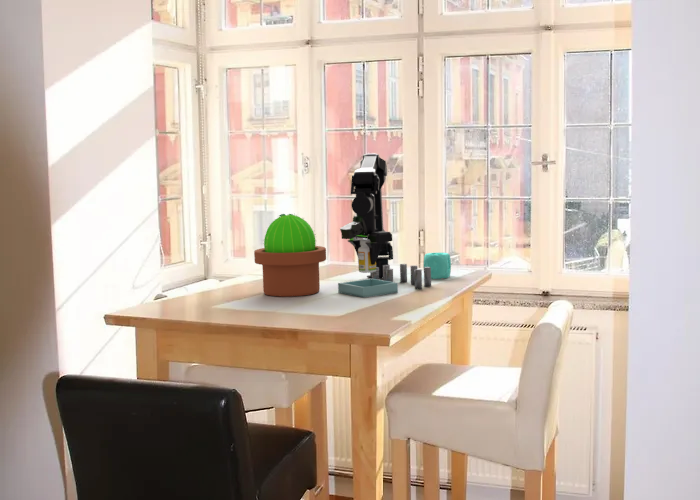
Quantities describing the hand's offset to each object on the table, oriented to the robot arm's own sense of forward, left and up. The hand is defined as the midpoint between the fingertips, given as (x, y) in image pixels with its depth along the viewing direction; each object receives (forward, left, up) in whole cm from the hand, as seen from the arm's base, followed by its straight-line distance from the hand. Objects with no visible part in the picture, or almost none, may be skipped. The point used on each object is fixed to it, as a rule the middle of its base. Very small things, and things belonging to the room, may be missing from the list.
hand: (367, 263), depth 271 cm
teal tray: (0, 0, -9) cm, 9 cm away
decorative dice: (-9, +36, -9) cm, 39 cm away
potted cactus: (-17, -17, -9) cm, 26 cm away
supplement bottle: (0, 0, -3) cm, 3 cm away
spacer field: (-2, +15, -9) cm, 18 cm away
